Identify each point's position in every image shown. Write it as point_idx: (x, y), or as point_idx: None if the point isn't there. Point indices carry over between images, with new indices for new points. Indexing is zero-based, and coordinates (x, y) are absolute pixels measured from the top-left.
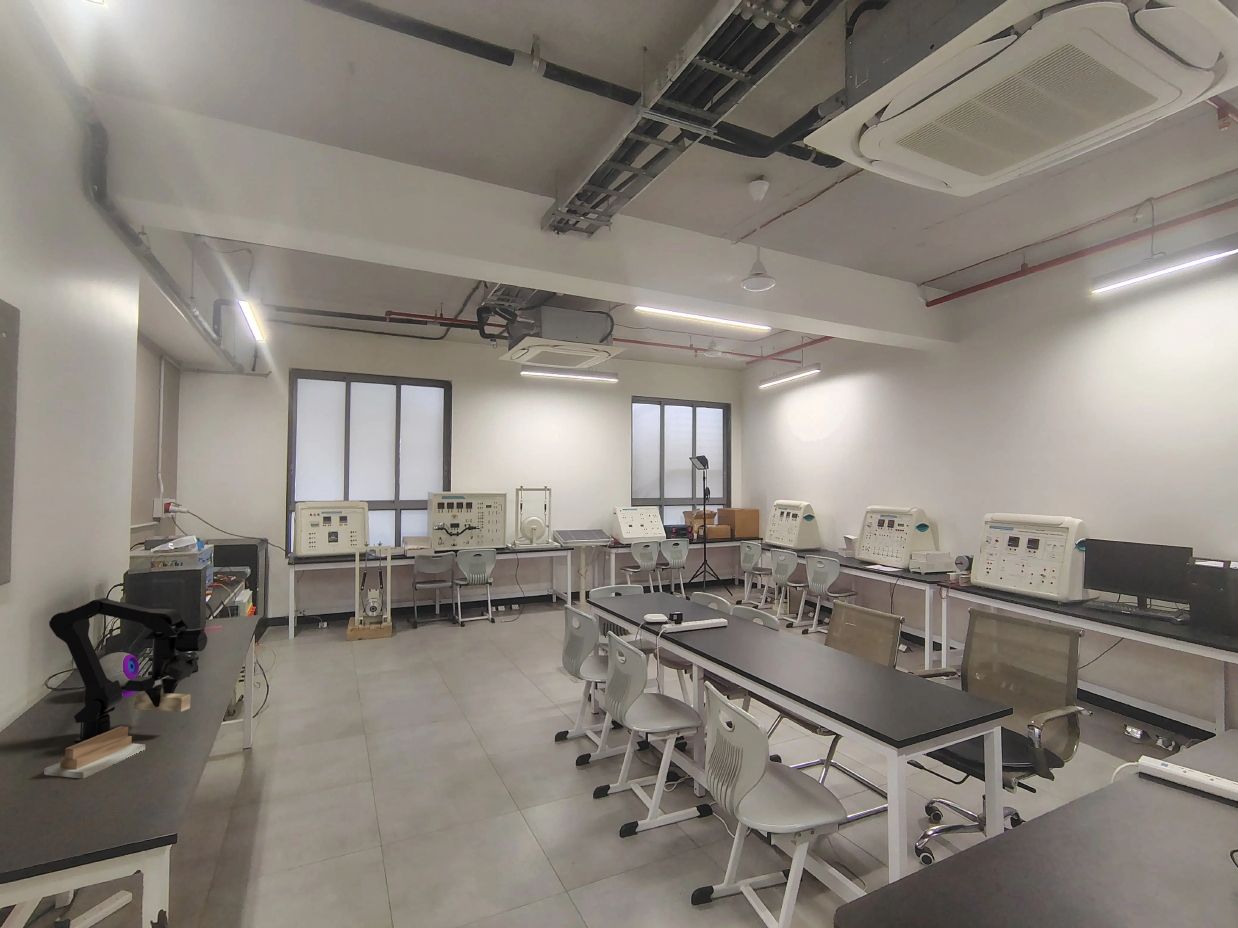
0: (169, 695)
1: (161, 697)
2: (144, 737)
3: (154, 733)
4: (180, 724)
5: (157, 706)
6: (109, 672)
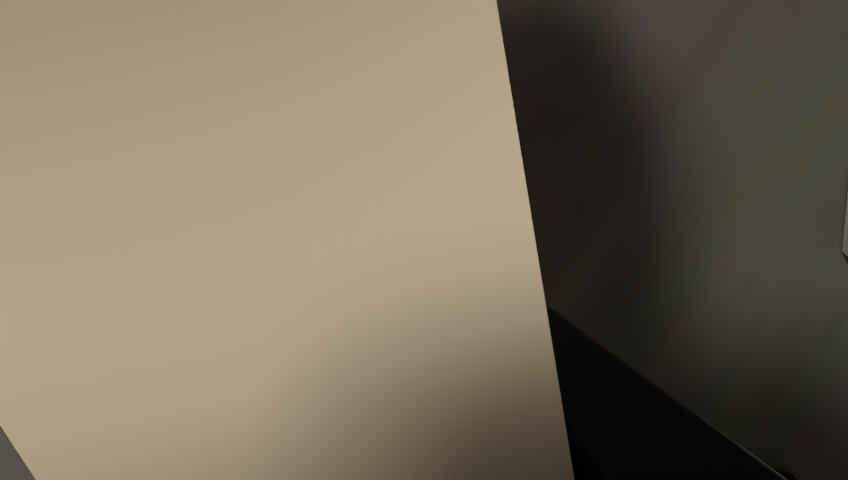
0: (300, 385)
1: (562, 469)
2: (533, 151)
3: None
4: None
5: (556, 314)
6: None
